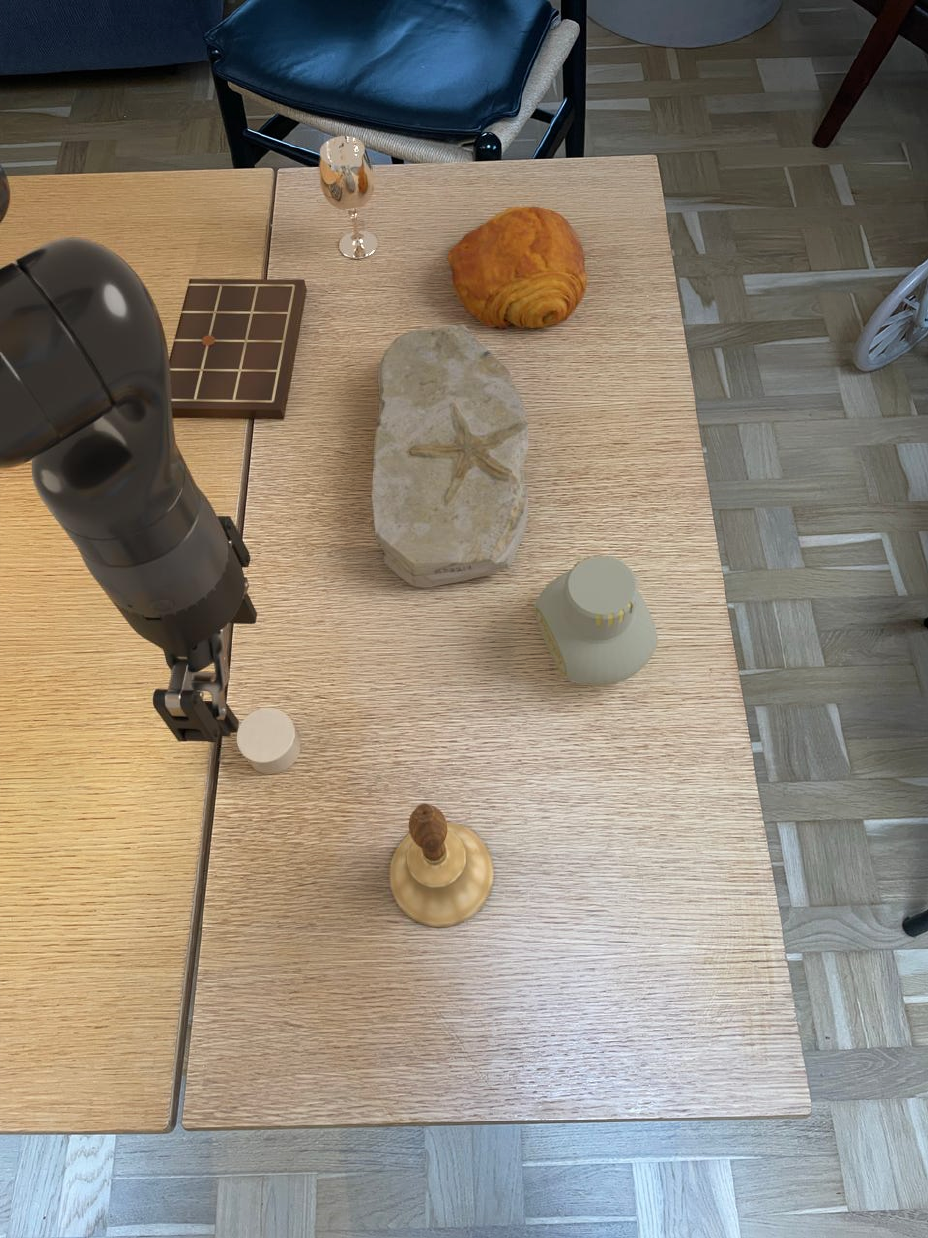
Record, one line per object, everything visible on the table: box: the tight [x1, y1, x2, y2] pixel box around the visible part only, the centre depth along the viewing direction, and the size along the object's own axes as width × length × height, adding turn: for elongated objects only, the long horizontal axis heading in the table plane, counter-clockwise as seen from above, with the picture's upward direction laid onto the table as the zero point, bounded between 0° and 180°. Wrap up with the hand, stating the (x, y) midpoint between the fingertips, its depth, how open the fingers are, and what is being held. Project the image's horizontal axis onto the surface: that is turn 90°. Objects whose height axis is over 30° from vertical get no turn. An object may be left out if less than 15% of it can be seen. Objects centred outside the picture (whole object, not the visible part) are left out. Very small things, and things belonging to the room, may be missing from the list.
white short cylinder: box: [236, 707, 302, 775], centre depth 82 cm, size 5×5×3 cm
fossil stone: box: [370, 323, 530, 589], centre depth 94 cm, size 28×15×5 cm, turn 0°
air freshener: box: [533, 554, 659, 687], centre depth 82 cm, size 11×8×10 cm
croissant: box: [446, 205, 588, 330], centre depth 104 cm, size 14×16×8 cm
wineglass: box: [318, 135, 379, 260], centre depth 105 cm, size 6×6×12 cm
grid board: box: [169, 278, 308, 420], centre depth 104 cm, size 18×18×2 cm
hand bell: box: [388, 802, 495, 928], centre depth 71 cm, size 8×8×16 cm
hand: (234, 672), depth 71 cm, fingers open, 8 cm apart
